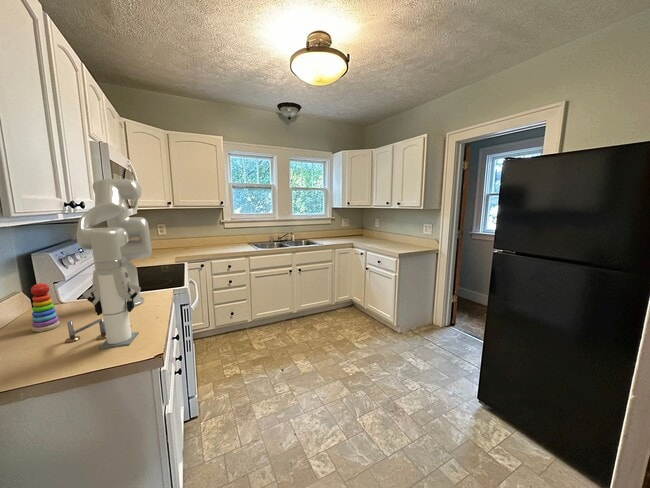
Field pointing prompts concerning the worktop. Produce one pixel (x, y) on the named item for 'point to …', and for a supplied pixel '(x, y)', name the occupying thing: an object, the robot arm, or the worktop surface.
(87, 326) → the metal linkage
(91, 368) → the worktop surface
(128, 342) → the mat
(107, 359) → the worktop surface
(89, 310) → the worktop surface
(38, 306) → the stacking toy
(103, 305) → the cylindrical container
